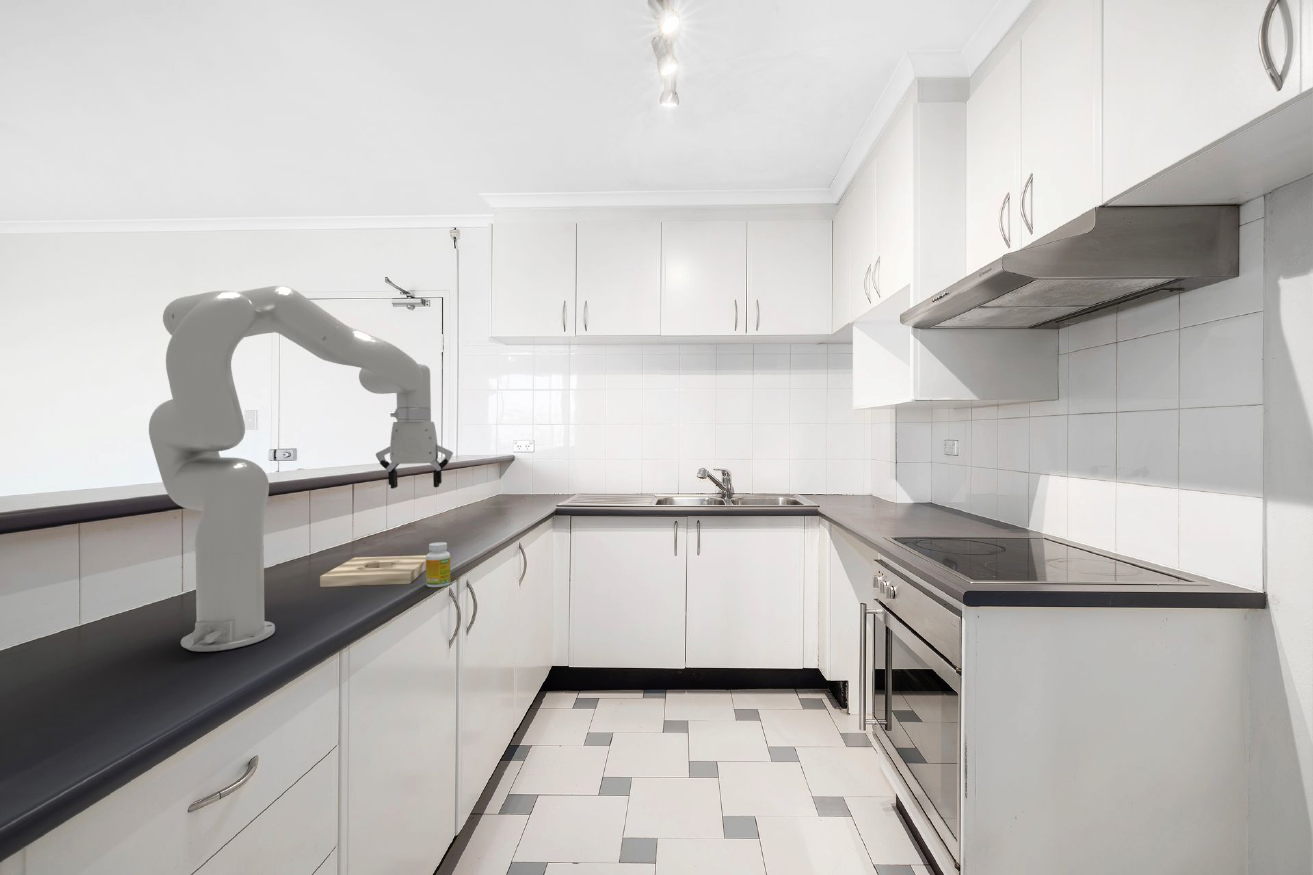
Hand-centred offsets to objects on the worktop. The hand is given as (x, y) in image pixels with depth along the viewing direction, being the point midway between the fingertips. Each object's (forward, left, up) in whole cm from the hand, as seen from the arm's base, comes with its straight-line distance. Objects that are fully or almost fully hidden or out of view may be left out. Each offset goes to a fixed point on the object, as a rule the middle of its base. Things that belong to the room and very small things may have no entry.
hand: (415, 487), depth 137 cm
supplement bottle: (-3, -6, -23) cm, 24 cm away
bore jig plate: (+9, +11, -23) cm, 27 cm away
